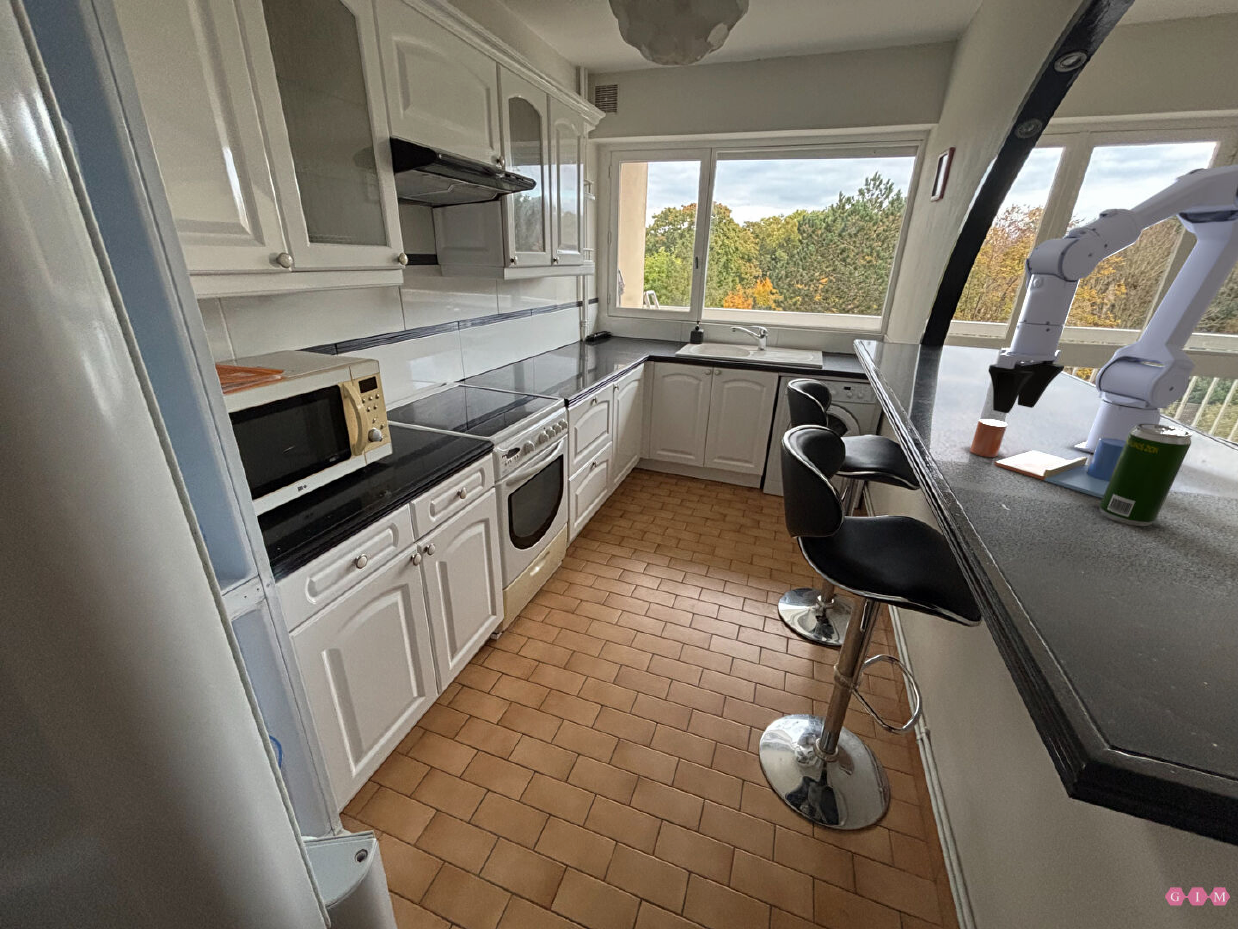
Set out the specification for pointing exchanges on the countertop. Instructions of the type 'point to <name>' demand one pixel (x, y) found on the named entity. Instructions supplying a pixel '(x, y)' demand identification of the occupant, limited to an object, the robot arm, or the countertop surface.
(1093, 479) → the board
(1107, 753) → the countertop surface
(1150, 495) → the green drink can
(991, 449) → the orange cylinder
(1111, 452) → the cylinder
